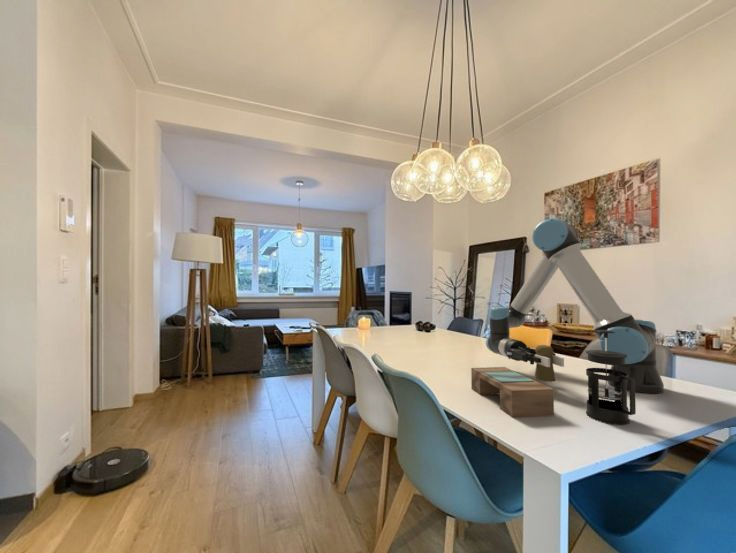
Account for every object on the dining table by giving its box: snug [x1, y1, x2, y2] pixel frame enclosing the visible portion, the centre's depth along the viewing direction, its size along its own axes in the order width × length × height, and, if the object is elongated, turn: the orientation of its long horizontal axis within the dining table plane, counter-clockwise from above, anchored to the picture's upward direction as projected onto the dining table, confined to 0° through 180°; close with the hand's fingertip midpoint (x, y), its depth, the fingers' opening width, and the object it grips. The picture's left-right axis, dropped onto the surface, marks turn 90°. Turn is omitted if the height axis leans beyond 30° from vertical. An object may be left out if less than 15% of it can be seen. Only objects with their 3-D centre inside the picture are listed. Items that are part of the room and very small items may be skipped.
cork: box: [534, 344, 556, 383], centre depth 108 cm, size 6×6×11 cm
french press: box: [585, 330, 637, 426], centre depth 86 cm, size 12×9×23 cm
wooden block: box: [470, 366, 555, 418], centre depth 99 cm, size 24×12×7 cm, turn 8°
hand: (555, 362), depth 102 cm, fingers closed on cork, 4 cm apart
